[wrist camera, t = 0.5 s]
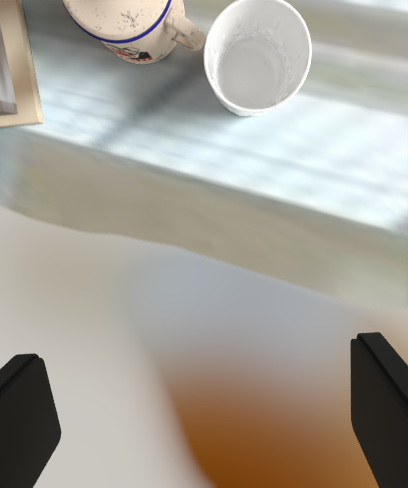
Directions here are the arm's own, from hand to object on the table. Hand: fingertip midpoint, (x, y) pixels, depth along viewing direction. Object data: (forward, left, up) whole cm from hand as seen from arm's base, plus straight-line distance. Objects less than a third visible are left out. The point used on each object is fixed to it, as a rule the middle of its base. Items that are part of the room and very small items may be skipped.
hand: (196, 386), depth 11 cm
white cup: (-13, +4, -30) cm, 33 cm away
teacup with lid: (-19, -5, -30) cm, 36 cm away
